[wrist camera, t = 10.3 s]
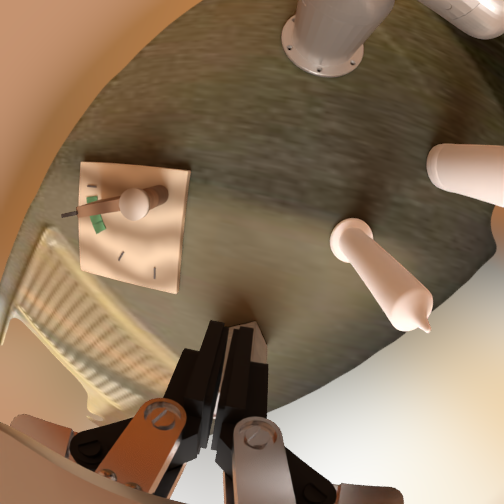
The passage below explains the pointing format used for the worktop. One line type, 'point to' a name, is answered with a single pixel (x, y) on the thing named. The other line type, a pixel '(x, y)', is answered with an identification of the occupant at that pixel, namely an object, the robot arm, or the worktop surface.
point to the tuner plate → (133, 226)
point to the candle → (383, 276)
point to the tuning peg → (126, 203)
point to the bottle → (469, 170)
